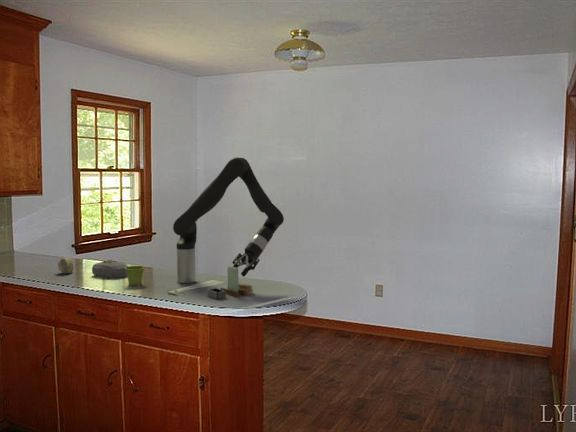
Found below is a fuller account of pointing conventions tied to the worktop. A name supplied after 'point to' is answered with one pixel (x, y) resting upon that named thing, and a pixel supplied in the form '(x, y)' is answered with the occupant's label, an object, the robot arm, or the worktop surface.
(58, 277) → the worktop surface
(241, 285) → the pine offcut top
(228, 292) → the walnut rack
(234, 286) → the green board
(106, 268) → the small grey backpack
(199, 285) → the baseboard molding
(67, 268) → the garlic bulb
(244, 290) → the pine offcut low
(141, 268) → the plant pot
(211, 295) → the grey holder
